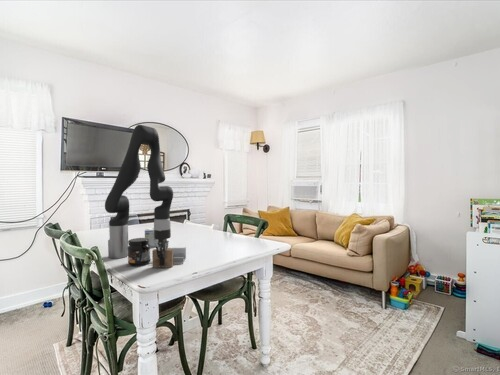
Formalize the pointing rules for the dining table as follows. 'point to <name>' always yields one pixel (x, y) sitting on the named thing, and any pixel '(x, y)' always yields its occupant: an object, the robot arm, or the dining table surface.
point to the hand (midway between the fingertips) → (162, 264)
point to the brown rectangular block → (167, 258)
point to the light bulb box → (151, 237)
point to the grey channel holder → (179, 255)
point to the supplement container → (138, 252)
